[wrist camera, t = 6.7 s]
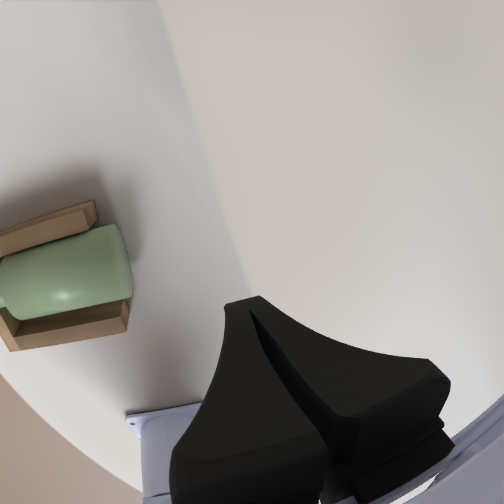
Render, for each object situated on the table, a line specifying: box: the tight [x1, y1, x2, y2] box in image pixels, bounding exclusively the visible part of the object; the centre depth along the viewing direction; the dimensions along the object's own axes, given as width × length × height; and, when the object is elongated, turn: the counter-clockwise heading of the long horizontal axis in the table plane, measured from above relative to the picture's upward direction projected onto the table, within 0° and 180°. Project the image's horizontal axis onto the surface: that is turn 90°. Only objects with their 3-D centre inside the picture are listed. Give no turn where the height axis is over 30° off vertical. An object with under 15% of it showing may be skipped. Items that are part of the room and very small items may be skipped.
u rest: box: [0, 200, 130, 352], centre depth 16 cm, size 8×10×2 cm
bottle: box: [0, 224, 133, 320], centre depth 16 cm, size 4×4×10 cm
